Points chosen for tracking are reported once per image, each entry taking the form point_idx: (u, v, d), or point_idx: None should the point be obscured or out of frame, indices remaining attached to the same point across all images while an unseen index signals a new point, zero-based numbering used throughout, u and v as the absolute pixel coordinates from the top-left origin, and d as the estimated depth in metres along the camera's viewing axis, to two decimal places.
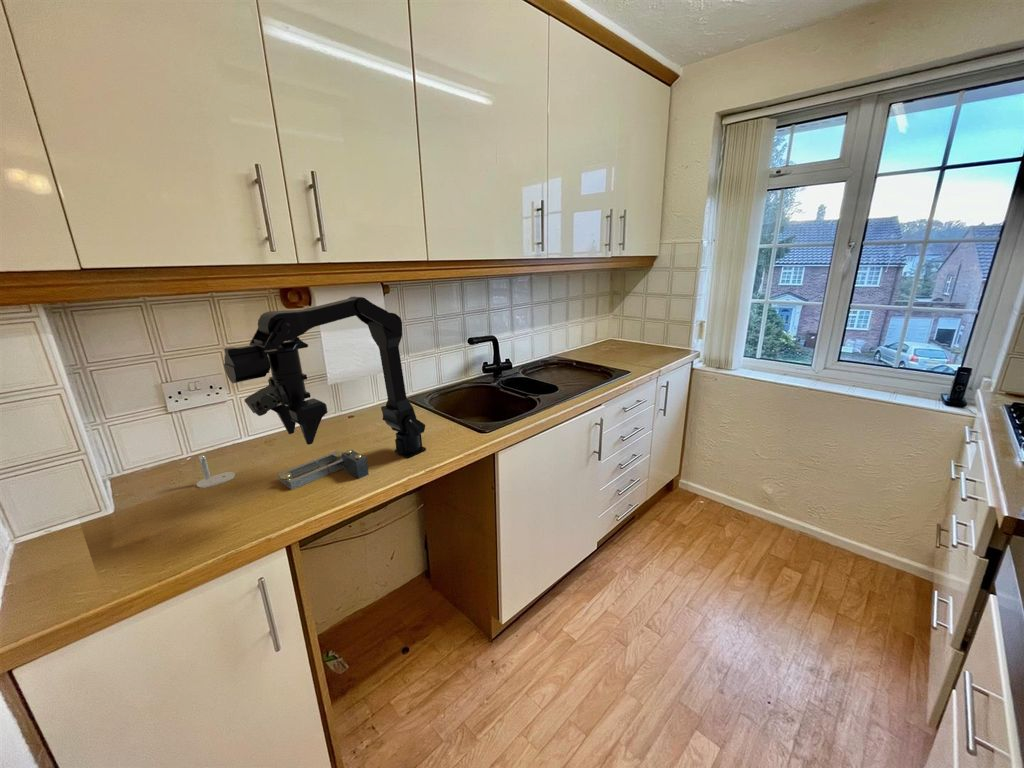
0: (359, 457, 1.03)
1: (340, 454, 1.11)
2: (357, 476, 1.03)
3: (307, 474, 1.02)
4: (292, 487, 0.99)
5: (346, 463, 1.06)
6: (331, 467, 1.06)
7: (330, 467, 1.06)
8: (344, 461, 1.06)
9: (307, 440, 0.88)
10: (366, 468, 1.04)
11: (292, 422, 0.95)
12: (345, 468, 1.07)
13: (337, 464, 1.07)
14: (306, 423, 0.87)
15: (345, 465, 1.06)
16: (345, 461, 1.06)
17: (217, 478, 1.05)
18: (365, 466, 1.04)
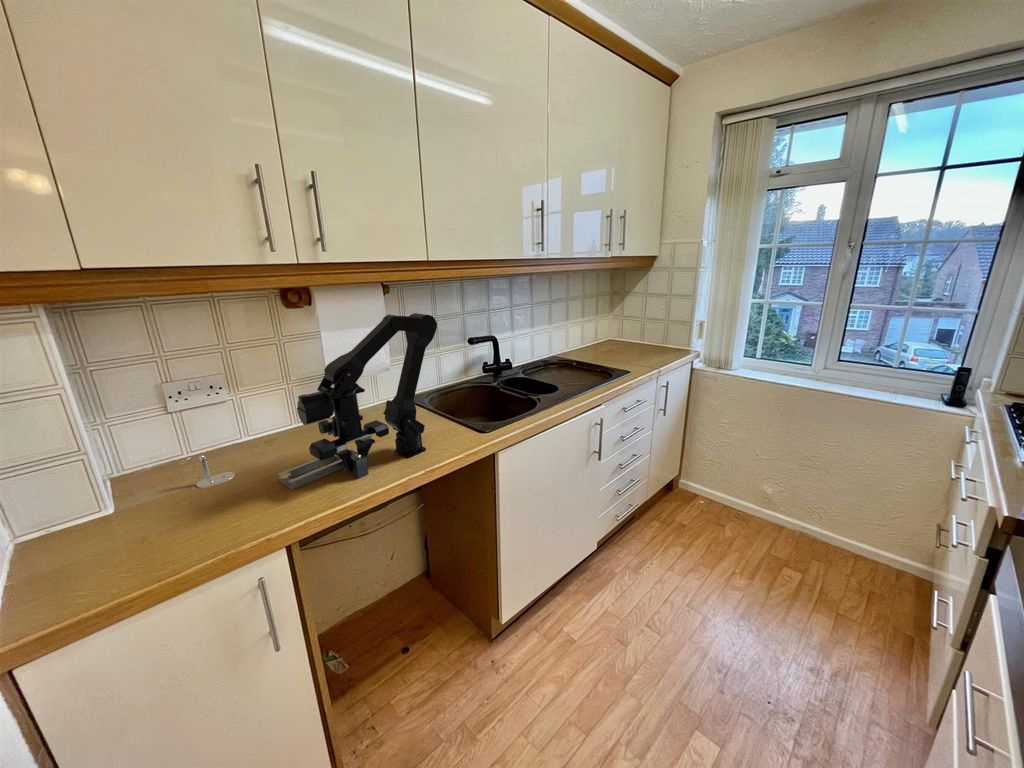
0: (359, 457, 1.03)
1: None
2: (357, 476, 1.03)
3: (307, 474, 1.02)
4: (292, 487, 0.99)
5: None
6: (331, 467, 1.06)
7: (330, 467, 1.06)
8: None
9: (346, 467, 1.05)
10: (366, 468, 1.04)
11: None
12: (345, 468, 1.07)
13: (337, 464, 1.07)
14: None
15: None
16: None
17: (217, 478, 1.05)
18: (365, 466, 1.04)
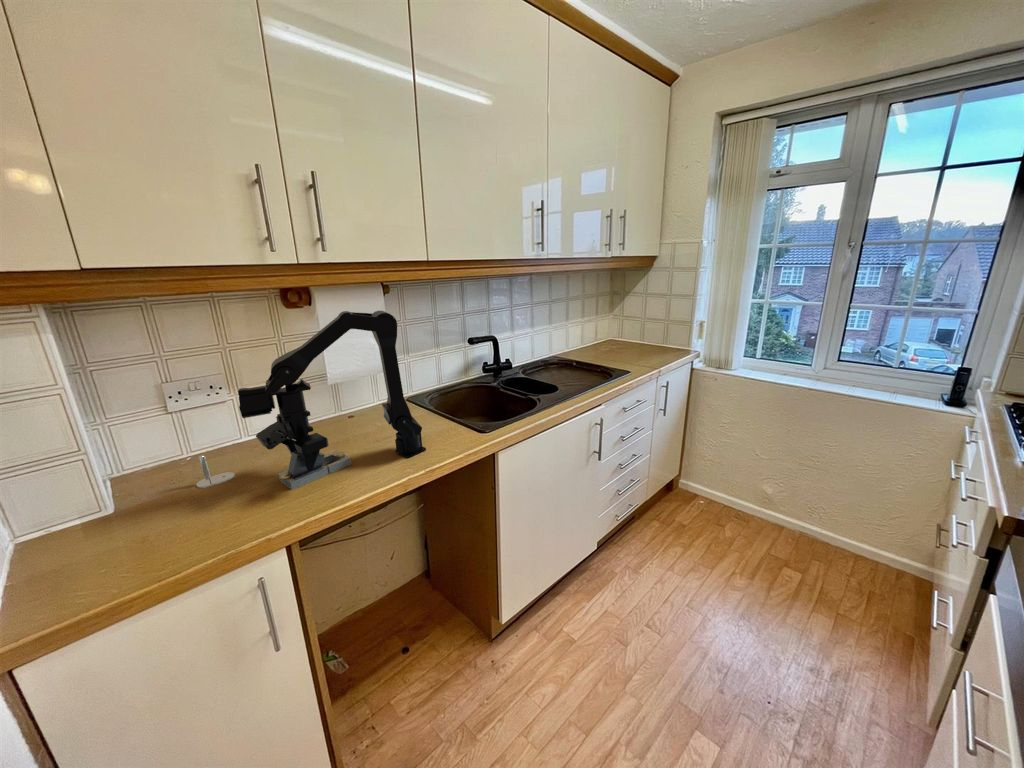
0: None
1: (340, 454, 1.11)
2: None
3: (307, 474, 1.02)
4: (292, 487, 0.99)
5: (302, 464, 1.02)
6: (331, 467, 1.06)
7: (330, 467, 1.06)
8: (299, 462, 1.01)
9: (308, 467, 1.01)
10: None
11: None
12: (297, 470, 1.01)
13: (337, 464, 1.07)
14: None
15: (300, 466, 1.02)
16: (302, 461, 1.02)
17: (217, 478, 1.05)
18: None
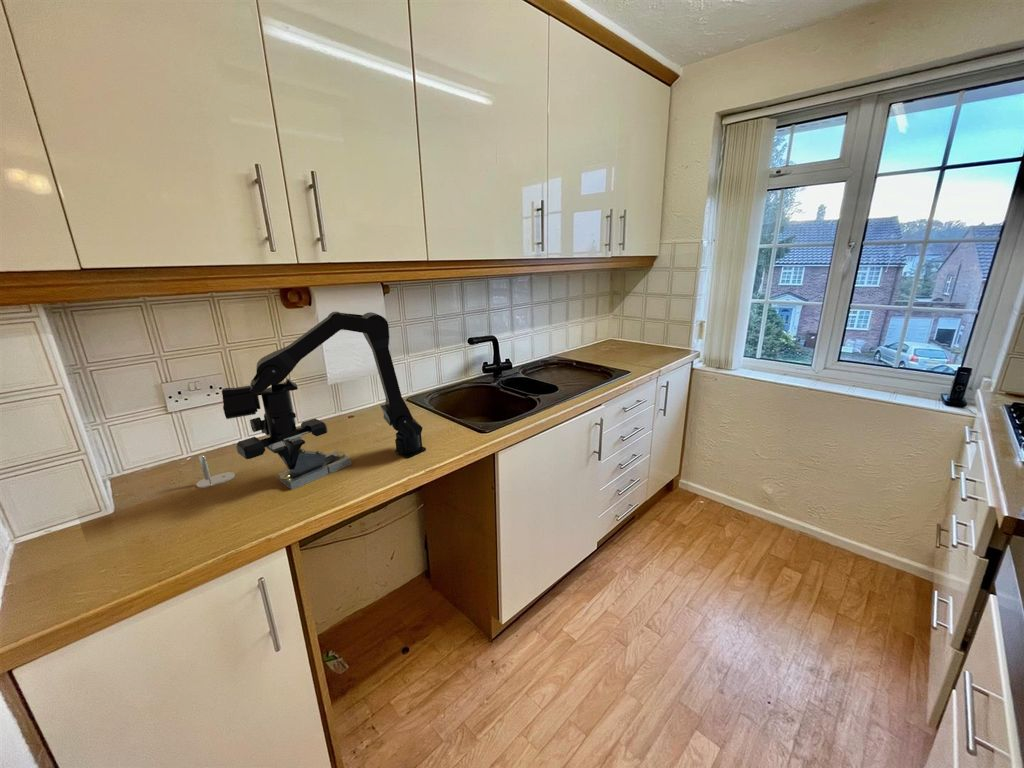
0: None
1: (340, 454, 1.11)
2: None
3: (307, 474, 1.02)
4: (292, 487, 0.99)
5: (303, 462, 1.02)
6: (331, 467, 1.06)
7: (330, 467, 1.06)
8: (300, 460, 1.02)
9: (286, 465, 1.01)
10: None
11: None
12: (298, 468, 1.01)
13: (337, 464, 1.07)
14: None
15: (301, 464, 1.02)
16: (303, 459, 1.02)
17: (217, 478, 1.05)
18: None
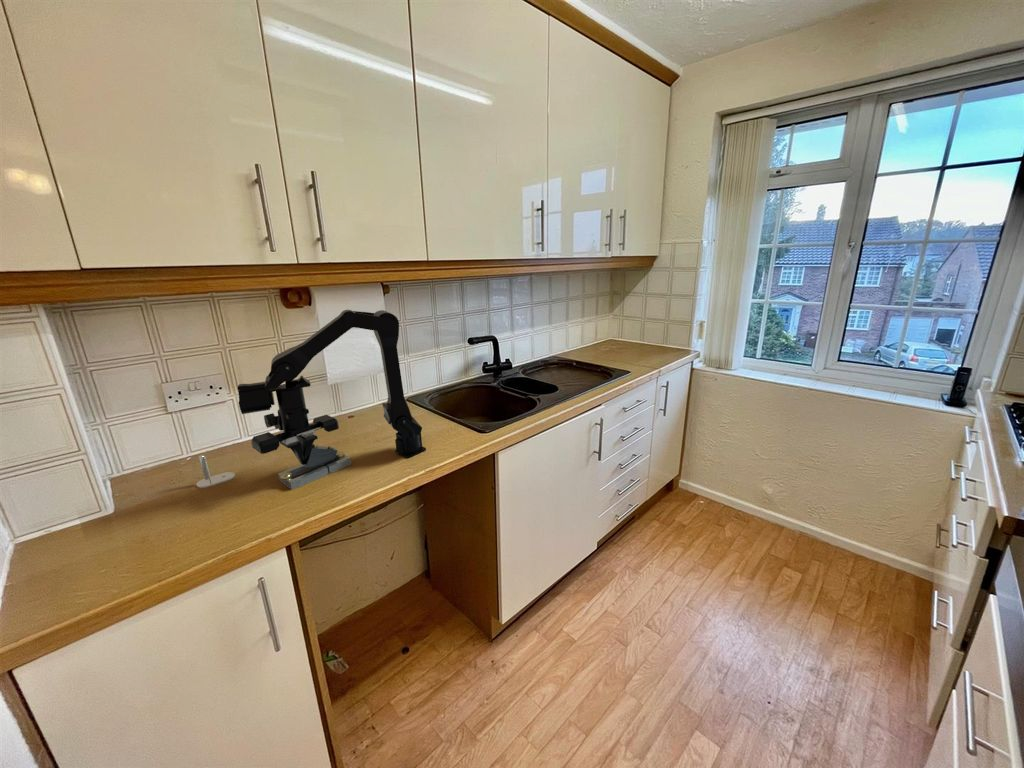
0: None
1: (340, 454, 1.11)
2: None
3: (307, 474, 1.02)
4: (292, 487, 0.99)
5: (315, 457, 1.05)
6: (331, 467, 1.06)
7: (330, 467, 1.06)
8: (313, 455, 1.04)
9: (298, 459, 1.03)
10: None
11: (303, 455, 1.03)
12: (310, 463, 1.04)
13: (337, 464, 1.07)
14: None
15: (313, 459, 1.04)
16: (316, 454, 1.05)
17: (217, 478, 1.05)
18: None
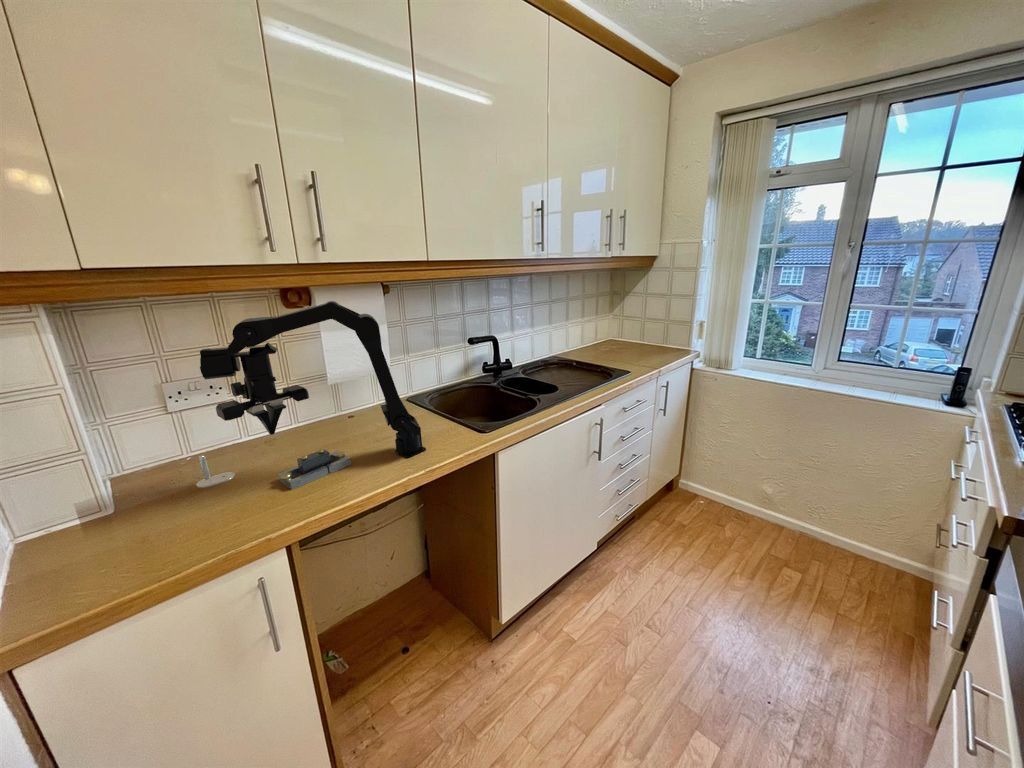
0: (323, 450, 1.07)
1: (340, 454, 1.11)
2: None
3: (307, 474, 1.02)
4: (292, 487, 0.99)
5: (310, 468, 1.04)
6: (331, 467, 1.06)
7: (330, 467, 1.06)
8: (306, 468, 1.03)
9: (267, 430, 1.01)
10: None
11: (271, 425, 1.00)
12: None
13: (337, 464, 1.07)
14: None
15: (309, 470, 1.04)
16: (309, 466, 1.04)
17: (217, 478, 1.05)
18: None
